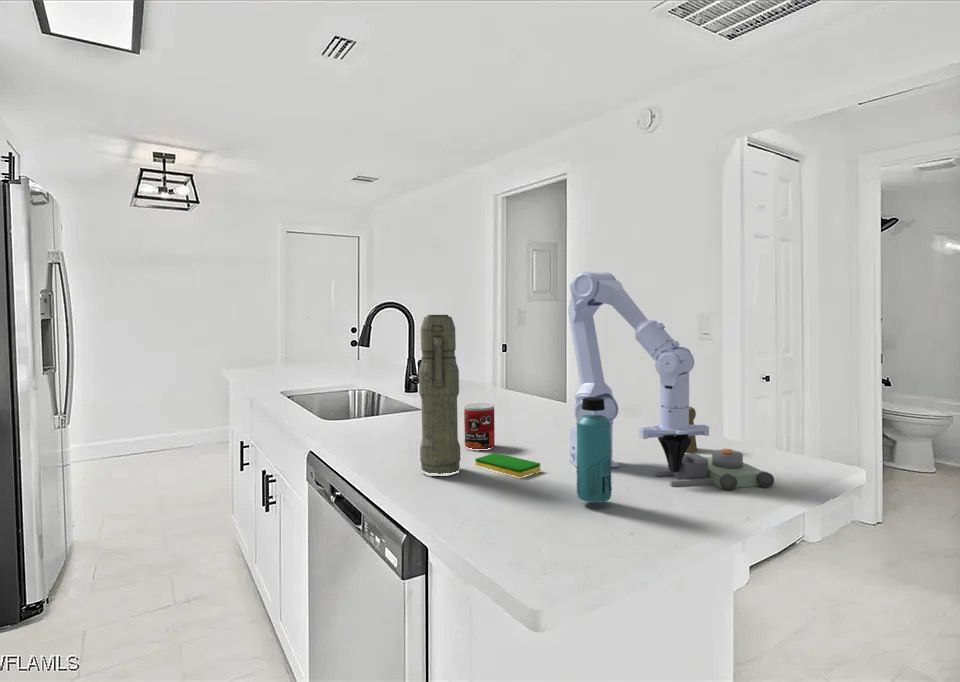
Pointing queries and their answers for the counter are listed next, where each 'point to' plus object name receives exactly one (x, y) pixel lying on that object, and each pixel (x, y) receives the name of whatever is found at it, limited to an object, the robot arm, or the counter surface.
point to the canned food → (479, 426)
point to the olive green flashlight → (439, 396)
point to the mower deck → (726, 472)
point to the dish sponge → (508, 464)
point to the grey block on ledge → (692, 467)
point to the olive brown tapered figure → (693, 446)
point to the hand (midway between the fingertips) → (673, 470)
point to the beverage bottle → (593, 453)
